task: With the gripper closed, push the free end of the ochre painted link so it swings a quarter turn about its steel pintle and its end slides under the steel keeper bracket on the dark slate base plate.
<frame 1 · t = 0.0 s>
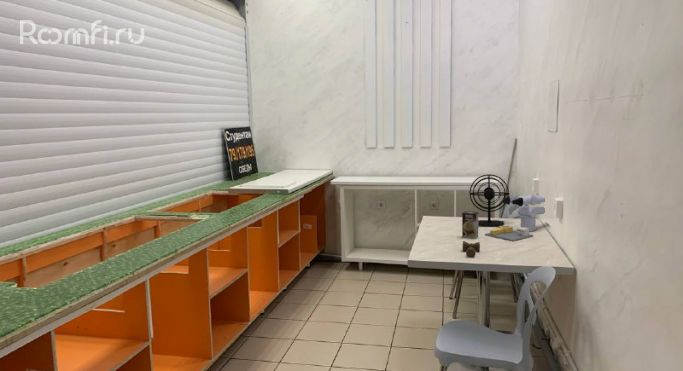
hand: (507, 201, 317), 22 cm above the table, tool horizontal, fingers open, 7 cm apart
coffee box: (470, 237, 319), on the table
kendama: (471, 253, 283), on the table
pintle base: (505, 233, 325), on the table
desk fan: (489, 224, 353), on the table
link: (500, 230, 322), point 3 cm above the table, hinge at 0.0°
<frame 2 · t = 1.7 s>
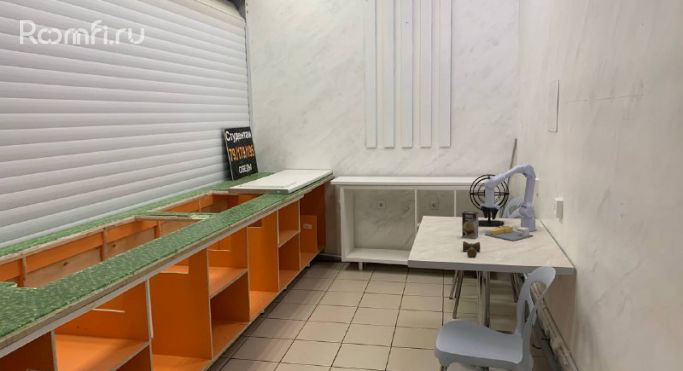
hand: (489, 218, 327), 9 cm above the table, tool pointing down, fingers open, 6 cm apart
nothing on the table moved.
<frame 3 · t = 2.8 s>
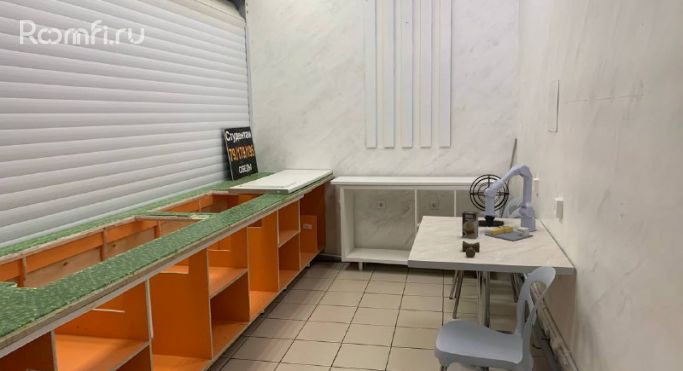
hand: (489, 227, 327), 4 cm above the table, tool pointing down, fingers closed
nothing on the table moved.
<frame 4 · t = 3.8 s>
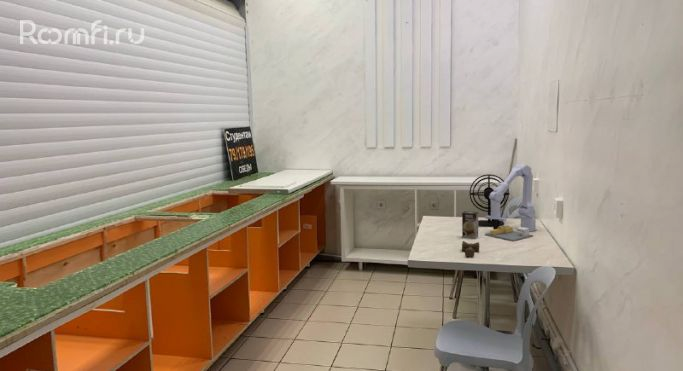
hand: (495, 231, 324), 2 cm above the table, tool pointing down, fingers closed
link: (500, 230, 322), point 3 cm above the table, hinge at 0.0°, touching gripper
everything else where it was.
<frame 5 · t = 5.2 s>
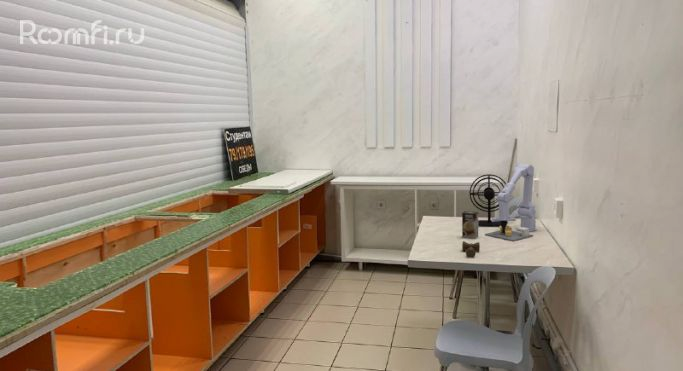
hand: (503, 232, 319), 2 cm above the table, tool pointing down, fingers closed, pressing on link
link: (506, 230, 320), point 3 cm above the table, hinge at 47.6°, touching gripper
everything else where it was.
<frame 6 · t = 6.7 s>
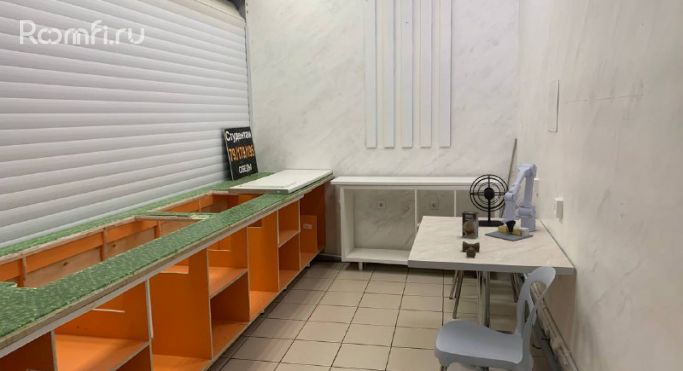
hand: (510, 232, 318), 2 cm above the table, tool pointing down, fingers closed
link: (511, 230, 320), point 3 cm above the table, hinge at 86.7°, touching gripper
everything else where it was.
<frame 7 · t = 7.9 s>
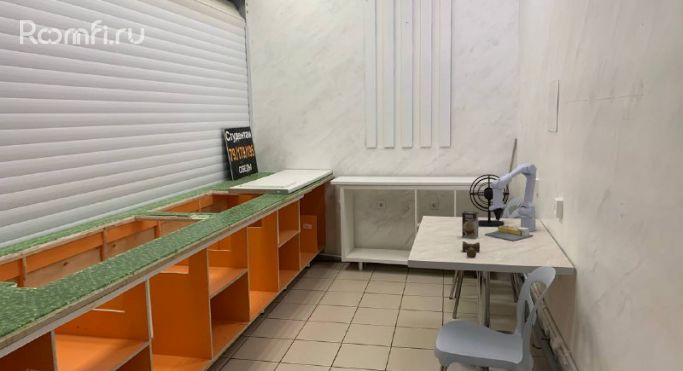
hand: (497, 219, 320), 10 cm above the table, tool pointing down, fingers closed
link: (511, 230, 320), point 3 cm above the table, hinge at 86.8°
everything else where it was.
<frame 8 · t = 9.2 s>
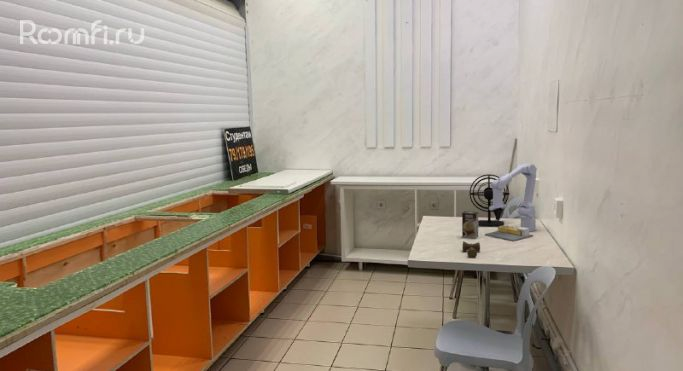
hand: (497, 219, 320), 10 cm above the table, tool pointing down, fingers closed
nothing on the table moved.
at the end: link at +87° (first picture: +0°) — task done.
